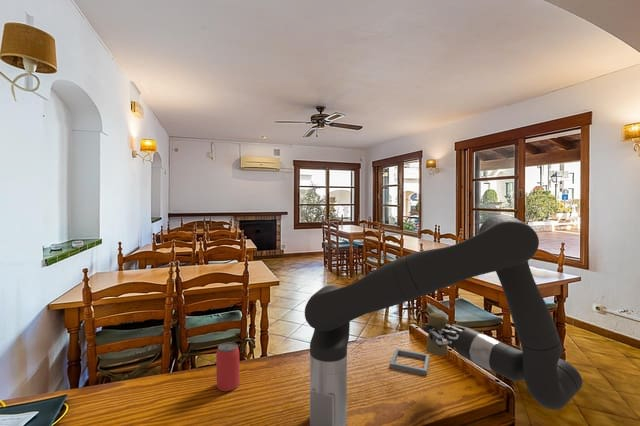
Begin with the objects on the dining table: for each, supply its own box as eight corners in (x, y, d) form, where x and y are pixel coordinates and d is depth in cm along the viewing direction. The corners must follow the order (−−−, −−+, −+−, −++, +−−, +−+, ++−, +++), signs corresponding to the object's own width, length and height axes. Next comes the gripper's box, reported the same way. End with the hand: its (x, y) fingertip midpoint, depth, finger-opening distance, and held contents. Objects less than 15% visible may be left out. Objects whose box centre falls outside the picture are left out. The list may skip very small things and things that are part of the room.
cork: (449, 356, 88) (450, 318, 88) (427, 354, 90) (427, 316, 89) (445, 347, 94) (446, 311, 94) (424, 345, 96) (425, 309, 95)
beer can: (211, 388, 92) (211, 348, 91) (227, 377, 97) (227, 339, 97) (228, 395, 89) (228, 353, 88) (244, 383, 94) (243, 344, 94)
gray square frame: (426, 375, 98) (426, 370, 98) (389, 367, 103) (389, 363, 103) (429, 358, 109) (429, 354, 109) (395, 352, 114) (396, 348, 113)
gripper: (499, 329, 82) (446, 309, 97) (462, 339, 76) (411, 316, 91) (498, 357, 82) (446, 333, 98) (461, 370, 76) (411, 342, 91)
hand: (429, 325), depth 94 cm, fingers closed on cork, 4 cm apart
